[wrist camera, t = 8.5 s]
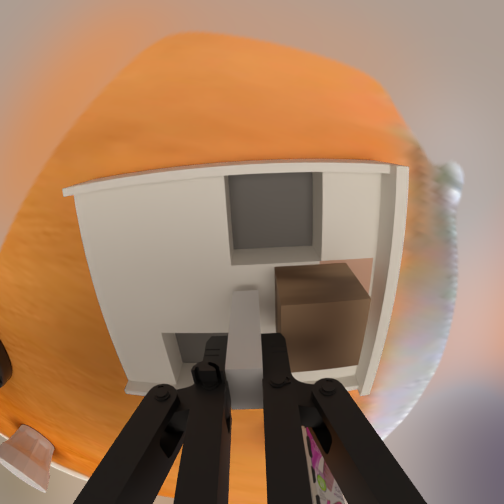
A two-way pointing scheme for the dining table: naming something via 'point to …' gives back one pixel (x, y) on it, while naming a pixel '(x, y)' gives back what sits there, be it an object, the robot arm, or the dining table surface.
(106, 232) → the tray
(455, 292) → the dining table surface
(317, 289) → the block
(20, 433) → the cup
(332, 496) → the candy bar box
